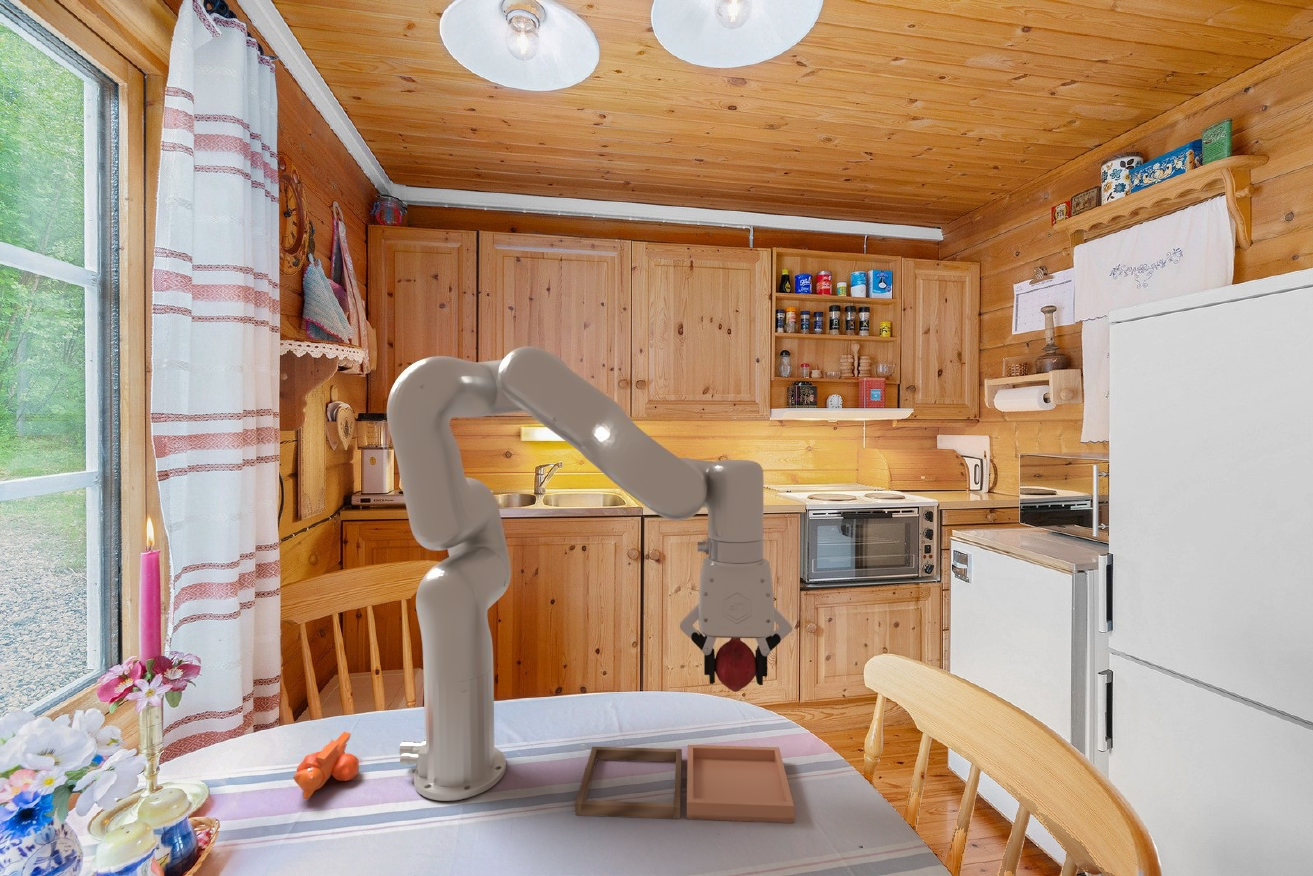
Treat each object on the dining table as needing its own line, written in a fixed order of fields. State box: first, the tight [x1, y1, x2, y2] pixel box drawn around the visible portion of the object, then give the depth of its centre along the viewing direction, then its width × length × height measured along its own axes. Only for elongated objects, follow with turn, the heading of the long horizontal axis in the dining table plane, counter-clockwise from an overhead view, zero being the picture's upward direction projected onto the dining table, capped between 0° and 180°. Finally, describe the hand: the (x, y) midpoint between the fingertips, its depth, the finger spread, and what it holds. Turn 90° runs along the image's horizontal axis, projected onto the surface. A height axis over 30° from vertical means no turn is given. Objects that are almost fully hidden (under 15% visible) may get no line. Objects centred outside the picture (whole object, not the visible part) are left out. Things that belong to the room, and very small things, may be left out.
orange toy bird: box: [293, 731, 360, 801], centre depth 86 cm, size 5×8×12 cm
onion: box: [715, 638, 757, 693], centre depth 83 cm, size 6×6×8 cm
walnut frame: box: [574, 745, 683, 820], centre depth 85 cm, size 14×14×2 cm
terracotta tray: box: [686, 744, 795, 824], centre depth 84 cm, size 14×14×2 cm
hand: (735, 679), depth 83 cm, fingers closed on onion, 5 cm apart
